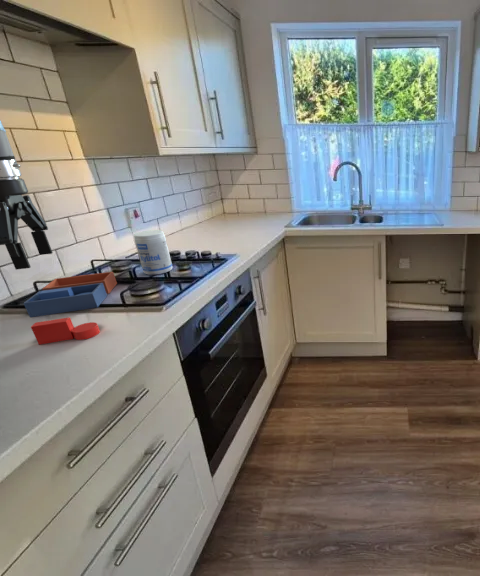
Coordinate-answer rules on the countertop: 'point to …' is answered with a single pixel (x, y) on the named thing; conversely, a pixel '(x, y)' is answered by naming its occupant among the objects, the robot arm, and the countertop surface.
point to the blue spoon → (57, 293)
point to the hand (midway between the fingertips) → (35, 260)
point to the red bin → (84, 281)
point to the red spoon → (63, 330)
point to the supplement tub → (153, 252)
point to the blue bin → (67, 301)
